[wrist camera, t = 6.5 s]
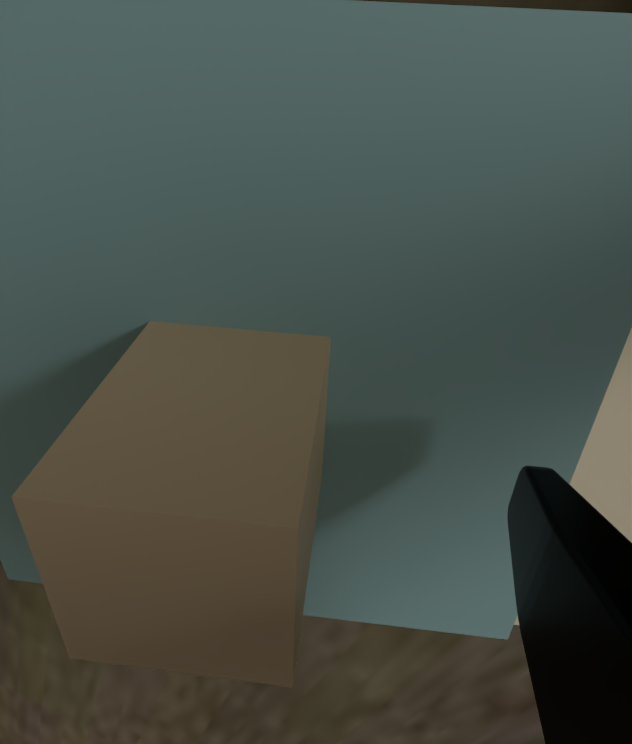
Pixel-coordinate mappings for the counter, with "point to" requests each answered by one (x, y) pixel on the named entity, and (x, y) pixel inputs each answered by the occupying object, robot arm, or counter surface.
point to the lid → (297, 310)
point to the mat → (610, 452)
